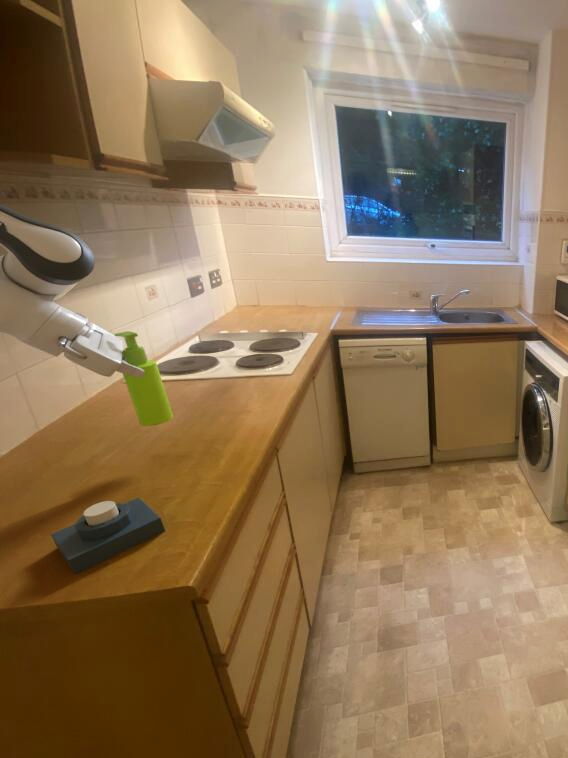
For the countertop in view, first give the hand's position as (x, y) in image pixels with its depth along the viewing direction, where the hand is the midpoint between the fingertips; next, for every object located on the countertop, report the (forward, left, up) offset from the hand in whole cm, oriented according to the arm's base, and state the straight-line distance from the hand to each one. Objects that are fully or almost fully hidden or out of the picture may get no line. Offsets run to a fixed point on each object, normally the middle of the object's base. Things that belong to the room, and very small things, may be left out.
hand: (142, 370), depth 93 cm
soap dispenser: (-1, 0, -12) cm, 12 cm away
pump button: (-17, -24, -16) cm, 34 cm away
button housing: (-17, -24, -21) cm, 36 cm away
